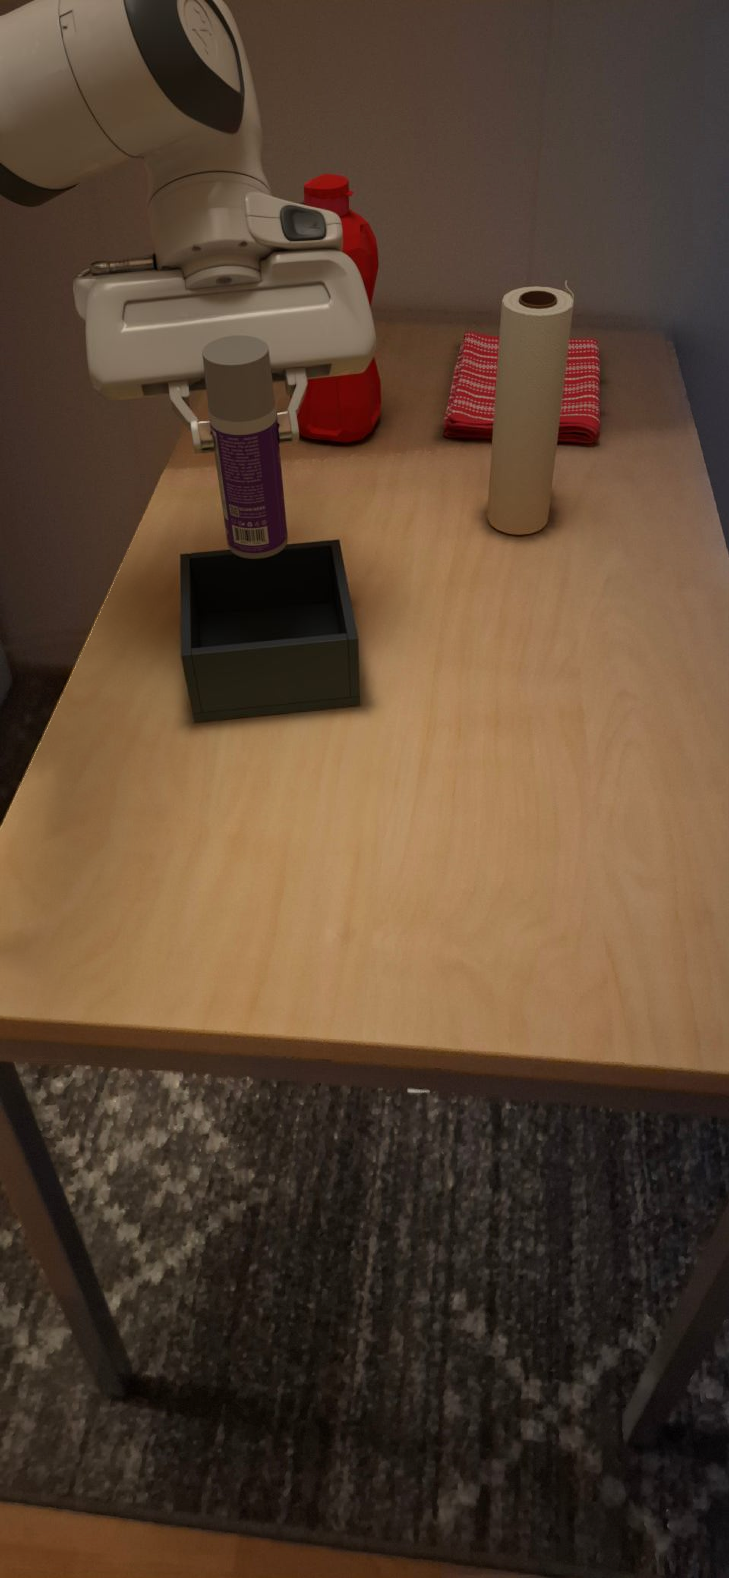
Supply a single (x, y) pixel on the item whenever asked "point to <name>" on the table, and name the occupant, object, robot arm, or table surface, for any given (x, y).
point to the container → (246, 444)
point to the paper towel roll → (528, 406)
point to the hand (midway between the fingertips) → (247, 445)
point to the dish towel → (478, 387)
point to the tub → (268, 632)
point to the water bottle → (355, 399)
